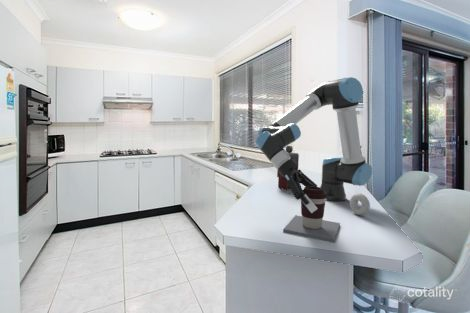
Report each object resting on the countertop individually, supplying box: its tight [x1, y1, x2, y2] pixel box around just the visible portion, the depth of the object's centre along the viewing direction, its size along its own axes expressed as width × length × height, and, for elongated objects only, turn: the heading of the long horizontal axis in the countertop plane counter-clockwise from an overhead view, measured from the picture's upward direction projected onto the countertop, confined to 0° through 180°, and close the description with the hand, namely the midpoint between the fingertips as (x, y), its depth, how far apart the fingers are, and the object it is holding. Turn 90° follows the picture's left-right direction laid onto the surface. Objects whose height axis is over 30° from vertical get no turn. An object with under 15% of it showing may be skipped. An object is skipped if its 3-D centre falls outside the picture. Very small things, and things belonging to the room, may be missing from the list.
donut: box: [349, 193, 371, 217], centre depth 116 cm, size 10×4×10 cm, turn 21°
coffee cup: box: [300, 186, 327, 229], centre depth 98 cm, size 10×10×15 cm
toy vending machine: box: [276, 145, 300, 191], centre depth 166 cm, size 9×11×28 cm
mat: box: [282, 215, 341, 243], centre depth 99 cm, size 18×18×1 cm
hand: (319, 206), depth 97 cm, fingers open, 13 cm apart
